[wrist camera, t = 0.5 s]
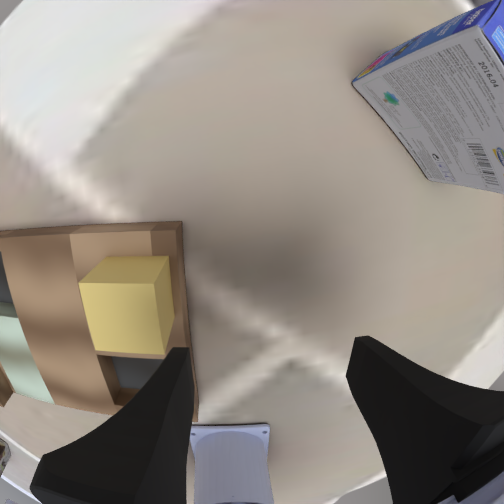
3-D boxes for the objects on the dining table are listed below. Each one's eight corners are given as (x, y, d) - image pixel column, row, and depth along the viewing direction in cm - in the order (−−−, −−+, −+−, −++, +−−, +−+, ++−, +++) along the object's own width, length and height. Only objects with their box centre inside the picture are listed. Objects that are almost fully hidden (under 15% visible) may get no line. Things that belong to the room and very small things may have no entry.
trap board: (198, 401, 23) (196, 444, 18) (17, 376, 21) (-3, 404, 16) (181, 221, 18) (167, 242, 14) (-29, 233, 16) (-64, 250, 12)
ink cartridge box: (460, 141, 18) (605, 159, 4) (429, 184, 19) (590, 231, 5) (388, 45, 16) (534, -18, 2) (348, 83, 16) (520, 13, 3)
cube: (174, 316, 18) (164, 354, 14) (116, 314, 17) (95, 350, 13) (168, 255, 16) (153, 283, 13) (106, 256, 16) (78, 282, 12)
